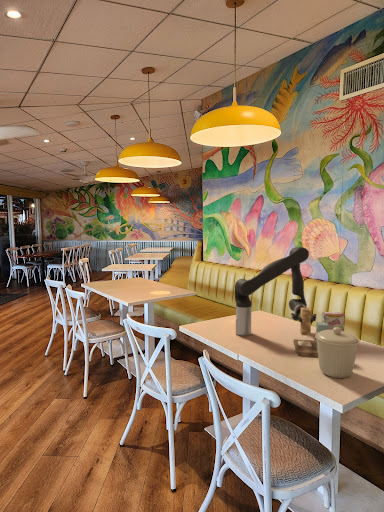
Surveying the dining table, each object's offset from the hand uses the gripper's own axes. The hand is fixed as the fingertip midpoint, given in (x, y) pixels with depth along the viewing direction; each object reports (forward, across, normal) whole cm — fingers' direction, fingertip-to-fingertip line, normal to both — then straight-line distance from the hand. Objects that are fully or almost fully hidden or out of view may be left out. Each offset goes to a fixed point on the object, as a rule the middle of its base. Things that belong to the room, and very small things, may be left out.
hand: (306, 321), depth 174 cm
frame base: (+1, +2, +15) cm, 16 cm away
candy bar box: (-14, +16, +16) cm, 27 cm away
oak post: (-3, 0, +8) cm, 8 cm away
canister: (+27, +8, +15) cm, 32 cm away
